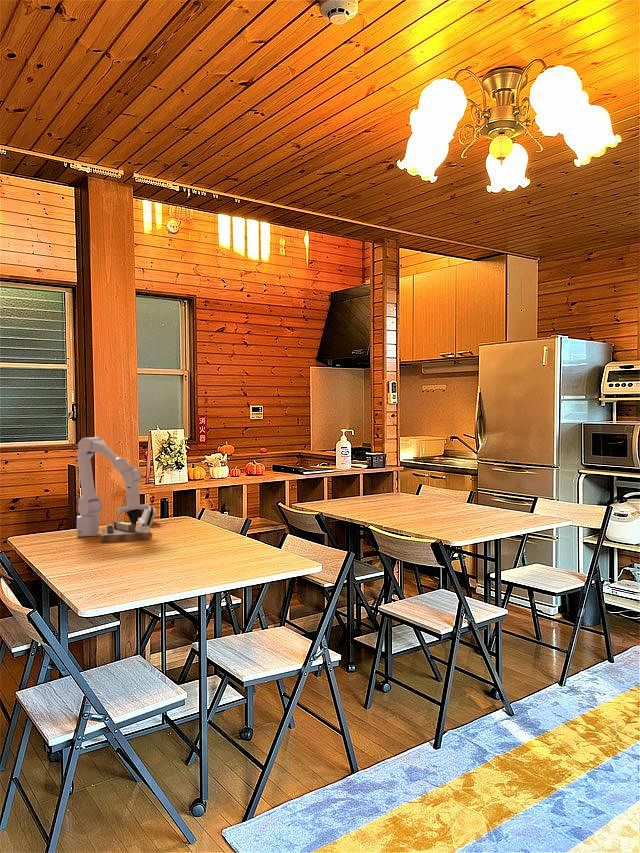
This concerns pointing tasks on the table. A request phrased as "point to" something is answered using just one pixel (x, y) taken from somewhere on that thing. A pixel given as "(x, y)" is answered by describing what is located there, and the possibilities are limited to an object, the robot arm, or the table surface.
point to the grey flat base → (124, 534)
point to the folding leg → (124, 526)
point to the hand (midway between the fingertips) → (133, 527)
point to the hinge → (147, 516)
